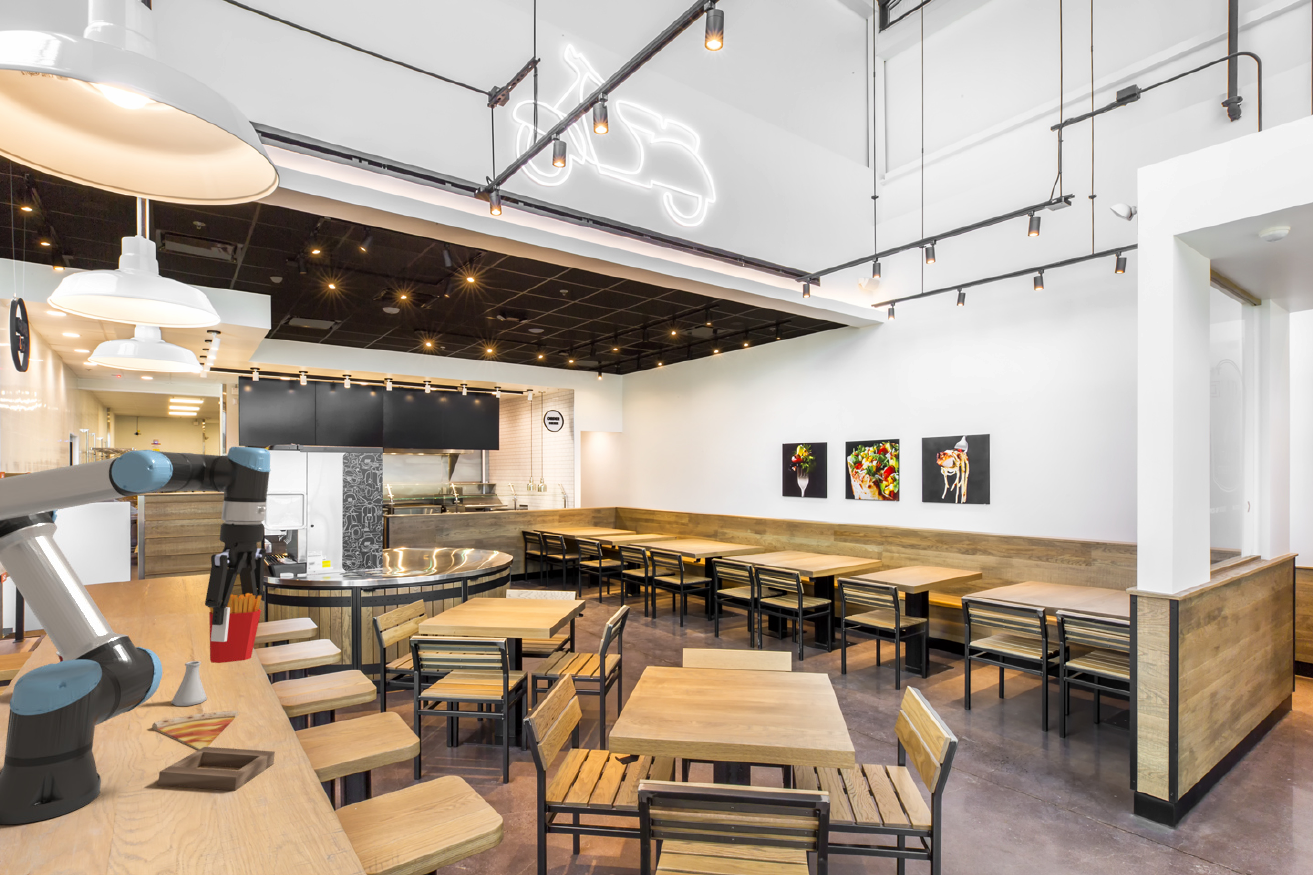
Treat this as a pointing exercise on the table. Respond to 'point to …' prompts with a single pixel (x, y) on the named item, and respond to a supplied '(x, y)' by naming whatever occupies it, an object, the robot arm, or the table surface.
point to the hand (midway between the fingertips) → (231, 636)
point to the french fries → (237, 630)
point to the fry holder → (194, 777)
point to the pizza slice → (196, 727)
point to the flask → (190, 687)
